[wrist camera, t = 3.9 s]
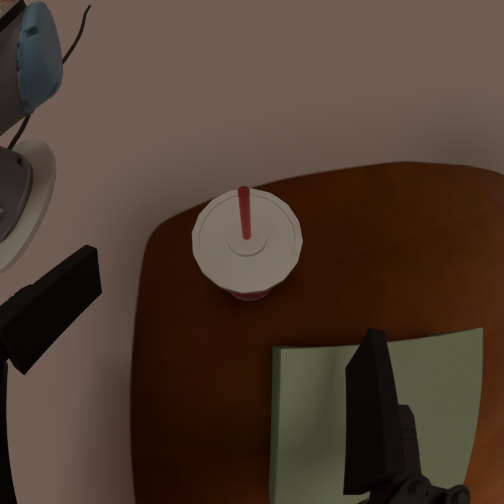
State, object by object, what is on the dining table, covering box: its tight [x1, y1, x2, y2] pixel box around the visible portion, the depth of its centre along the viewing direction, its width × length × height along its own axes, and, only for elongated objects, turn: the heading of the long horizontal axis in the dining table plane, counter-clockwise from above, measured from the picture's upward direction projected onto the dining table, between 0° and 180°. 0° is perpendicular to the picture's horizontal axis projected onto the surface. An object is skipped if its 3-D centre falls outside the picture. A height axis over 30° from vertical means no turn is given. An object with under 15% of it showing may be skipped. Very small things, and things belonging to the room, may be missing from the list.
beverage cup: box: [192, 186, 303, 301], centre depth 17 cm, size 6×6×14 cm
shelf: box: [269, 327, 483, 504], centre depth 17 cm, size 14×16×7 cm
